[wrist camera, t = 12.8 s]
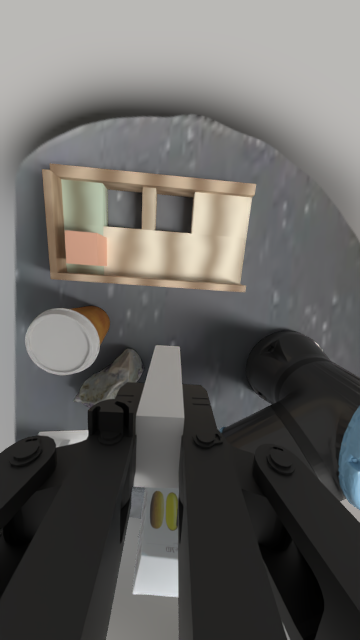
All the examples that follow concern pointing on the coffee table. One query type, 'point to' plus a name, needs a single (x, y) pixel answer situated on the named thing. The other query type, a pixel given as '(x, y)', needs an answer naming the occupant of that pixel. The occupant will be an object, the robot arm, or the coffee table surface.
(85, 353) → the disposable coffee cup
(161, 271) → the box
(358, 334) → the coffee table surface
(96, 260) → the terracotta block
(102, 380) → the mineral rock
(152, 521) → the supplement box
